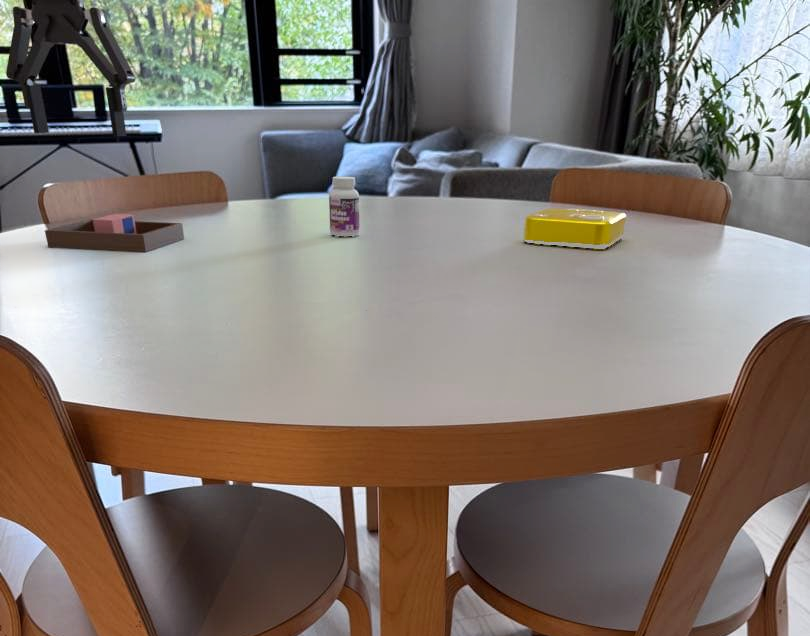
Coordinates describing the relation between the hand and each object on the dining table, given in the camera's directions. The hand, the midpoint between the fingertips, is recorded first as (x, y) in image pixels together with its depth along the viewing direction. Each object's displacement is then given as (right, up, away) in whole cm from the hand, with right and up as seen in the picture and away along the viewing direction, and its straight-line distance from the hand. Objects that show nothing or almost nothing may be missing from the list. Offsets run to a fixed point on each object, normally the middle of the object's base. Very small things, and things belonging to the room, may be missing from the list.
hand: (80, 134), depth 119 cm
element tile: (+81, -11, +16) cm, 84 cm away
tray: (+2, -13, +10) cm, 17 cm away
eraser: (+2, -13, +9) cm, 16 cm away
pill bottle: (+40, -9, +19) cm, 45 cm away
